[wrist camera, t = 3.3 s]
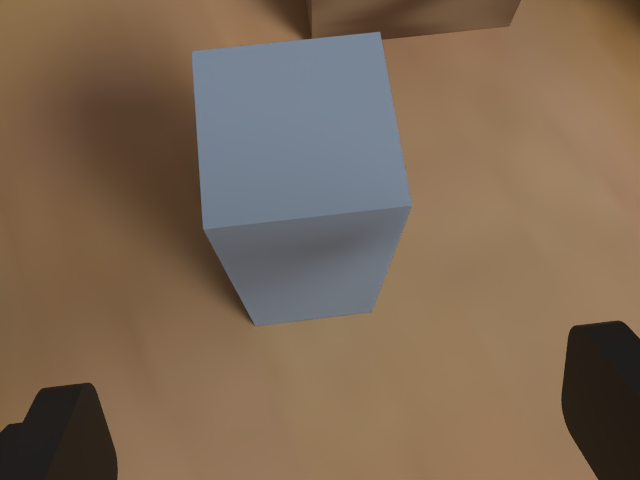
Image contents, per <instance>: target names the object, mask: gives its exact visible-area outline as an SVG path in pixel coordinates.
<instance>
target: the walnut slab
mask: <svg viewBox="0 0 640 480" xmlns="http://www.w3.org/2000/svg"><path fill="white" fill-rule="evenodd" d="M520 1H521V0H306V4H307V11H308V19H309V26H310V33H311V39H315V38H325V37H334V36H344V35H354V34H363V33H373V32H380V34H381V39H392V38H402V37H411V36H421V35H431V34H441V33H450V32H460V31H470V30H479V29H489V28H499V27H508V26H509V25H510V23H511V21H512V19H513V16H514V14H515V12H516V10H517V8H518V5H519V3H520Z"/></svg>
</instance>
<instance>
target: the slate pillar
mask: <svg viewBox="0 0 640 480" xmlns="http://www.w3.org/2000/svg"><path fill="white" fill-rule="evenodd" d="M192 66H193V82H194V97H195V113H196V128H197V144H198V159H199V175H200V190H201V206H202V221H203V230H204V232H205V234H206V236H207V238H208V240H209V241H210V243H211V245H212V247H213V249H214V251H215V253H216V254H217V256H218V258H219V260H220V262H221V264H222V265H223V267H224V269H225V271H226V273H227V275H228V277H229V278H230V280H231V282H232V284H233V286H234V288H235V290H236V291H237V293H238V295H239V297H240V299H241V301H242V302H243V304H244V306H245V308H246V310H247V312H248V314H249V315H250V317H251V319H252V321H253V323H254V325H255V326H260V325H269V324H277V323H285V322H293V321H302V320H310V319H318V318H327V317H335V316H343V315H351V314H360V313H368V312H372V310H373V307H374V304H375V302H376V299H377V296H378V294H379V291H380V289H381V286H382V283H383V281H384V278H385V275H386V273H387V270H388V267H389V265H390V262H391V259H392V257H393V254H394V252H395V249H396V246H397V244H398V241H399V238H400V236H401V233H402V230H403V228H404V225H405V223H406V220H407V217H408V215H409V212H410V209H411V207H412V203H411V198H410V193H409V187H408V182H407V176H406V171H405V165H404V160H403V154H402V149H401V143H400V138H399V132H398V127H397V121H396V116H395V111H394V105H393V100H392V94H391V89H390V83H389V78H388V72H387V67H386V61H385V56H384V50H383V45H382V39H381V34H380V32H373V33H363V34H354V35H344V36H334V37H325V38H315V39H305V40H295V41H286V42H276V43H266V44H257V45H247V46H237V47H228V48H218V49H208V50H199V51H192Z"/></svg>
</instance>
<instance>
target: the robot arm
mask: <svg viewBox="0 0 640 480" xmlns="http://www.w3.org/2000/svg"><path fill="white" fill-rule="evenodd" d="M561 401H562V411H563V415H564V419H565V423H566V425H567V428H568V430H569V432H570V434H571V436H572V438H573V439H574V441H575V443H576V444H577V446H578V447H579V449H580V451H581V452H582V454H583V456H584V457H585V459H586V460H587V462H588V464H589V465H590V467H591V469H592V470H593V472H594V473H595V475H596V477H597V478H598V480H640V339H639V338H638V337H637V335H636V334H635V333H634V332H633V331H632V330H631V329H630V328H629V327H628V326H627V325H626V324H625V323H623V322H622V321H610V322H602V323H593V324H585V325H577V326H573V327H572V328H571V330H570V332H569V336H568V343H567V352H566V361H565V370H564V379H563V387H562V398H561ZM117 474H118V467H117V457H116V452H115V448H114V445H113V442H112V439H111V435H110V432H109V429H108V426H107V423H106V420H105V417H104V413H103V410H102V407H101V404H100V401H99V398H98V395H97V392H96V389H95V388H94V386H93V385H92V384H91V383H82V384H73V385H65V386H57V387H48V388H43V389H41V390H40V391H39V392H38V394H37V395H36V397H35V399H34V401H33V403H32V405H31V407H30V409H29V411H28V413H27V415H26V417H25V419H24V421H23V423H15V424H9V425H8V426H7V427H6V428H4V429H3V430H2V431H1V432H0V480H117Z"/></svg>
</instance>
